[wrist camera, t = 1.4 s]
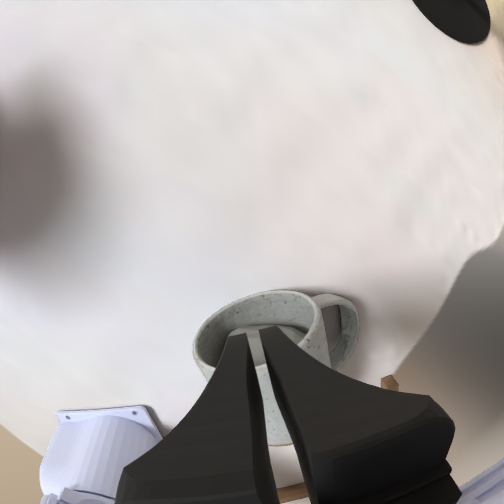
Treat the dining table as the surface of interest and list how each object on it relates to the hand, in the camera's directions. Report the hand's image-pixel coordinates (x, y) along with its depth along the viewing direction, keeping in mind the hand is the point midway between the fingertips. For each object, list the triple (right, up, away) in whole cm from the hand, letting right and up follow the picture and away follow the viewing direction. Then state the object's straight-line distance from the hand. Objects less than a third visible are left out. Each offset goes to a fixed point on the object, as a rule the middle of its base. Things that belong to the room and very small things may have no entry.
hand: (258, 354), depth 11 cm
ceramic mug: (+2, -2, +12) cm, 12 cm away
